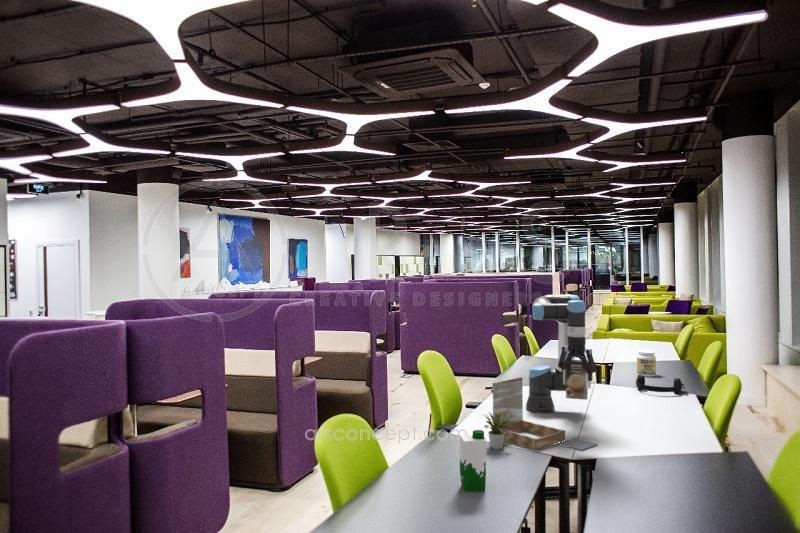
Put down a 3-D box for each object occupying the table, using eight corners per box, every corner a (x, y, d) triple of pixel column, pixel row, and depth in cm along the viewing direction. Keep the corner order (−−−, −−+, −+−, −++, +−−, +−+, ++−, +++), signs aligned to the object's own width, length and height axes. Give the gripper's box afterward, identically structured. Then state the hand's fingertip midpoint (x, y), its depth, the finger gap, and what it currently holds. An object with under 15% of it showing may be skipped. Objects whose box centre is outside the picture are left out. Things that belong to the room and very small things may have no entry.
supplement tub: (639, 376, 402) (639, 352, 402) (635, 373, 414) (635, 349, 414) (658, 377, 400) (657, 352, 400) (653, 374, 412) (653, 350, 412)
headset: (675, 387, 370) (675, 373, 370) (693, 396, 343) (693, 381, 343) (630, 387, 371) (630, 373, 371) (644, 396, 345) (644, 381, 345)
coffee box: (565, 398, 252) (565, 361, 252) (566, 395, 258) (566, 359, 258) (587, 399, 249) (587, 362, 249) (588, 396, 255) (587, 360, 255)
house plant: (491, 454, 242) (491, 415, 242) (472, 445, 254) (472, 408, 254) (518, 449, 248) (518, 411, 248) (498, 440, 260) (498, 404, 260)
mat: (557, 444, 255) (557, 443, 255) (573, 439, 262) (573, 437, 262) (581, 451, 245) (581, 449, 245) (597, 445, 253) (597, 443, 253)
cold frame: (493, 436, 267) (492, 382, 267) (521, 428, 279) (520, 377, 279) (537, 450, 247) (536, 391, 247) (565, 440, 260) (564, 385, 260)
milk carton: (488, 492, 202) (487, 434, 202) (462, 493, 202) (462, 435, 202) (482, 482, 211) (482, 427, 211) (458, 483, 210) (457, 428, 210)
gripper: (549, 334, 260) (549, 383, 260) (595, 339, 242) (595, 391, 242) (559, 332, 265) (559, 380, 265) (605, 337, 247) (605, 389, 247)
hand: (576, 386), depth 254 cm, fingers closed on coffee box, 11 cm apart
